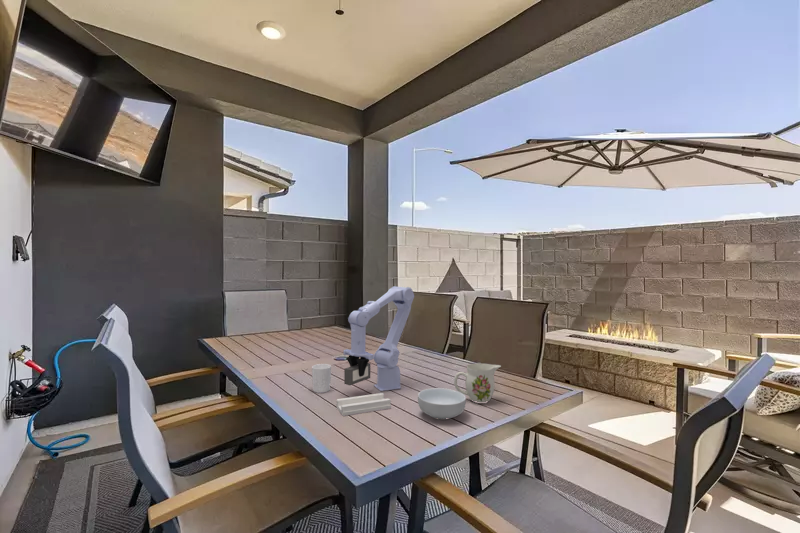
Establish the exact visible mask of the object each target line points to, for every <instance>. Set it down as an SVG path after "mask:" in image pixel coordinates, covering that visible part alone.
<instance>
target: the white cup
mask: <svg viewBox="0 0 800 533" xmlns="http://www.w3.org/2000/svg"><path fill="white" fill-rule="evenodd" d="M331 373H332V365H331V364H328V363H317V364H314V365H312V366H311V378H312V391H313V392H314V393H316V394H317V393H318V394H323V393H327V392H329V391H330V389H331V388H330V386H331V385H330V384H331V378H332V377H331V376H332V374H331Z"/></svg>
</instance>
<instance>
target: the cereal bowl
mask: <svg viewBox="0 0 800 533" xmlns="http://www.w3.org/2000/svg"><path fill="white" fill-rule="evenodd" d="M466 397H467V396H466V395H465V394H462V393H461V392H458V391H457V390H454V389H450V388H443V387H432V388H431V387H430V388H426V389H422V390H421V391H419V392H418V394H417V403H418V404H417V405H418V407H419V408H420V410H421V411H422V412H423V413H424V414H426V415H428V416H430V417H432V419H435V418H438V419H437V420H439V419H446V418H450V419H452V418H455V417H457V416H460V415H461V414H462V413H463V411H465V408H466V403H467V398H466ZM446 420H447V419H446Z"/></svg>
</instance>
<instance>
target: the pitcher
mask: <svg viewBox="0 0 800 533" xmlns="http://www.w3.org/2000/svg"><path fill="white" fill-rule="evenodd" d="M501 367H502V365H501V364H491V363H480V364H477V363H469V364H467V365H466V371H467V372H464V371H459V372H456V374H454V377H453V385H454V388H455V389H456V391H458V392H461V393H462V394H464V395H465V396H468V397H469V399H470V401H471V400H473V401H477V402H486V401H489V402H490V400H491V399H492V397H493V395H494V390H495V377H494V375H495V372H496V371H497V370H498V369H499V368H501ZM460 376H464V377H465V389H466V390H463V389H461V388H460V386H459V385H458V378H459V377H460Z"/></svg>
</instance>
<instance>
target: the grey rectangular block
mask: <svg viewBox="0 0 800 533" xmlns="http://www.w3.org/2000/svg"><path fill="white" fill-rule="evenodd" d="M343 375H344V382H343V383H344V385H346V386H352V385H355V384H357V383H361V382H363V381H366V380H369V379H371V363H370V362H368V364H367V366H366V369H365V373H364V376H361V377H360V376H359V367H358V365H354V366H351V367H350V366H348V367H346V368H344V374H343Z"/></svg>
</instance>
